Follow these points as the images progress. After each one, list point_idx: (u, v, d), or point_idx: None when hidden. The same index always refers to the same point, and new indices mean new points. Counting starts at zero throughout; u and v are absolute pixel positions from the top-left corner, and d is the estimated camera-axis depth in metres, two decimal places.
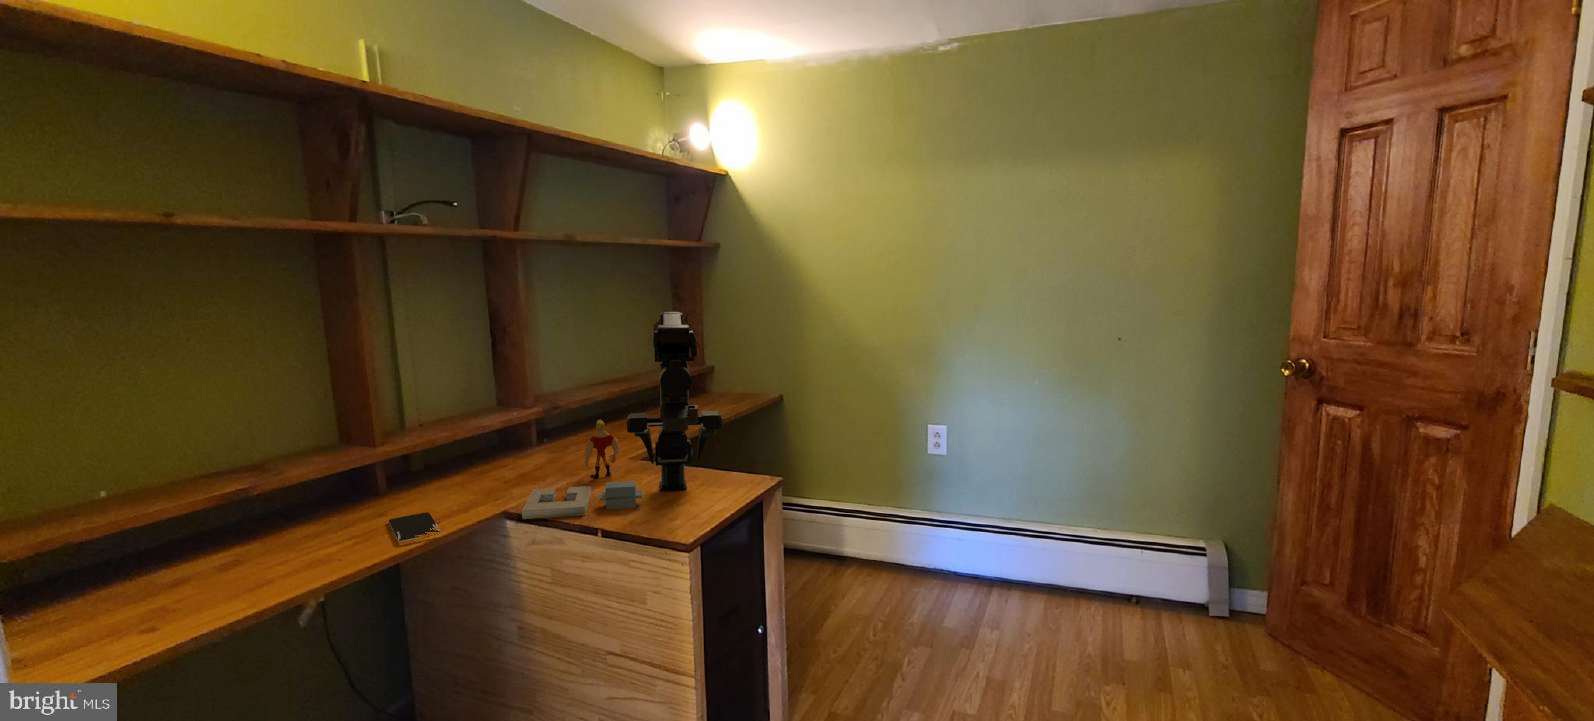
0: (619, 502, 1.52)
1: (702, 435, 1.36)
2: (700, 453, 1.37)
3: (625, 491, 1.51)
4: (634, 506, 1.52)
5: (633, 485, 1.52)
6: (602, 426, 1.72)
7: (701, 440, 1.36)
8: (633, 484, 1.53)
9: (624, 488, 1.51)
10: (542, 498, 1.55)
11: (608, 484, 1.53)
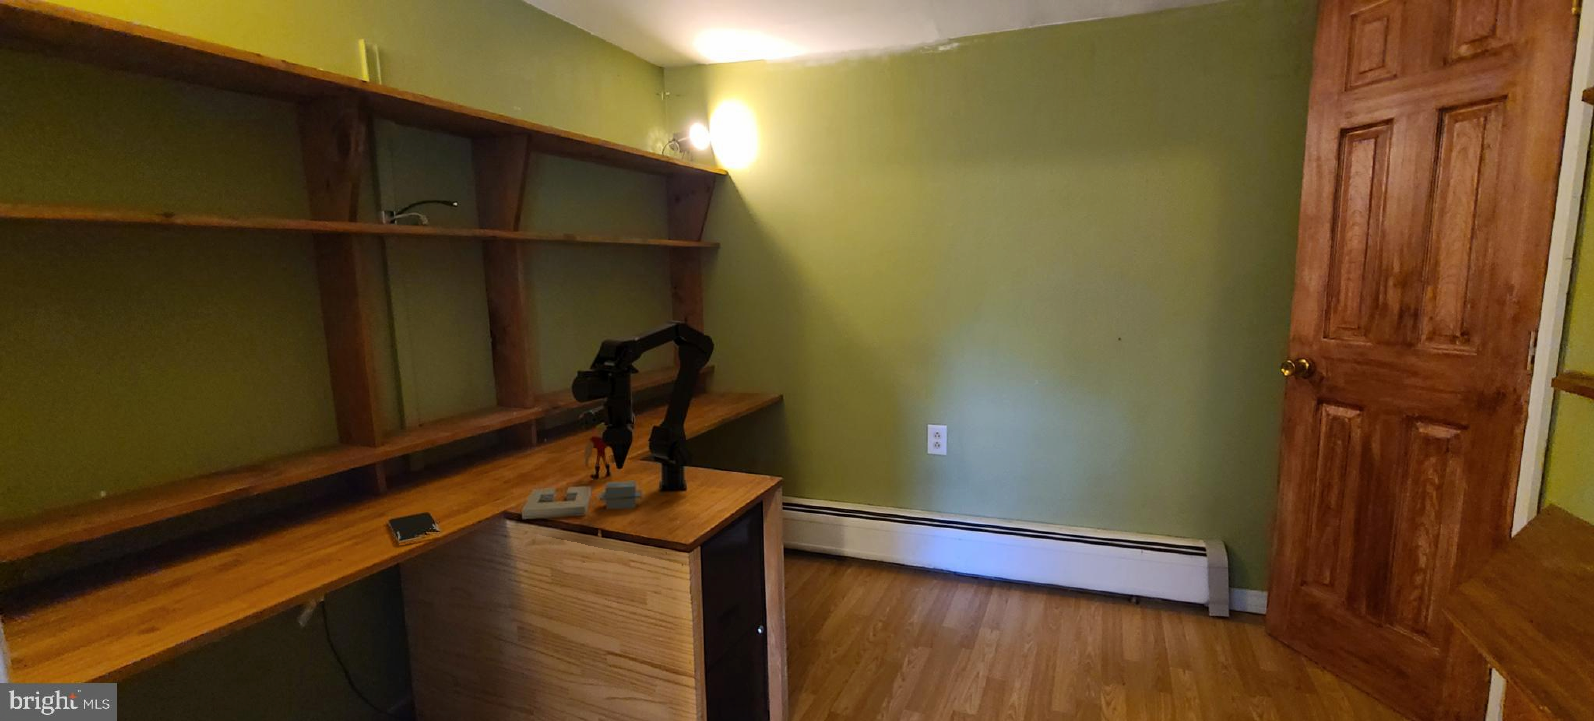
0: (619, 502, 1.52)
1: None
2: (615, 461, 1.47)
3: (625, 491, 1.51)
4: (634, 506, 1.52)
5: (633, 485, 1.52)
6: (602, 426, 1.72)
7: None
8: (633, 484, 1.53)
9: (624, 488, 1.51)
10: (542, 498, 1.55)
11: (608, 484, 1.53)
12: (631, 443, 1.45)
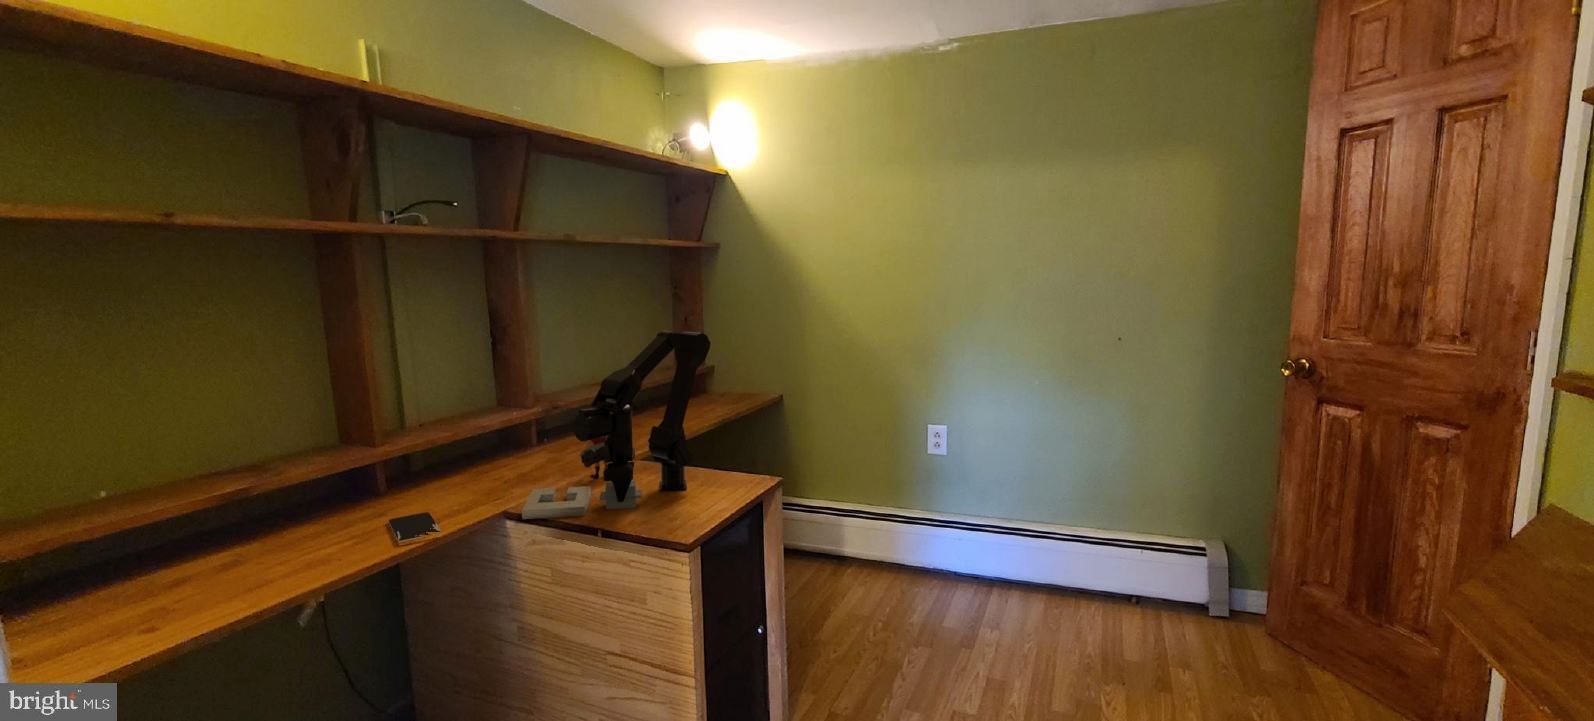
0: None
1: None
2: (616, 494, 1.51)
3: None
4: (634, 506, 1.52)
5: (633, 485, 1.52)
6: None
7: None
8: (633, 484, 1.53)
9: None
10: (542, 498, 1.55)
11: (608, 484, 1.53)
12: None
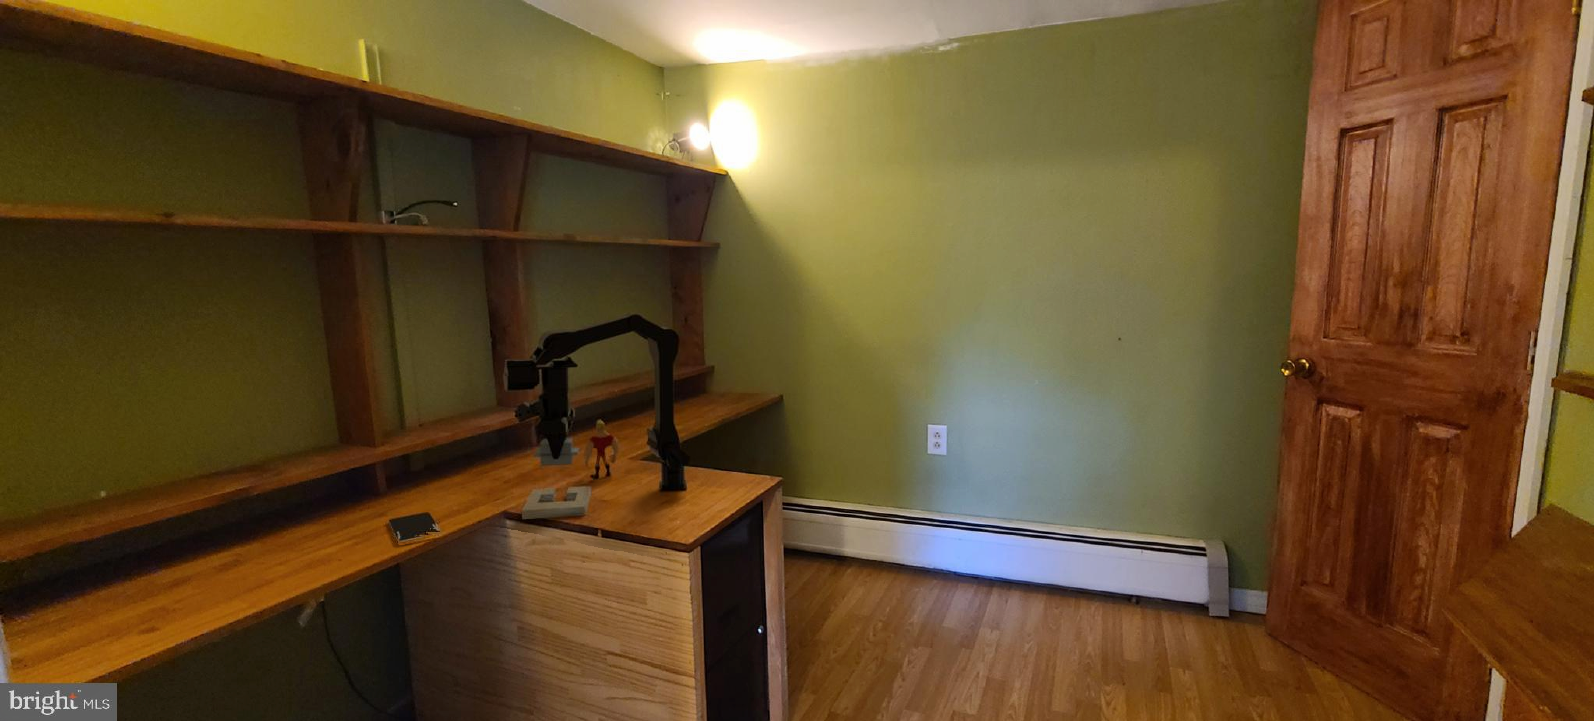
0: None
1: None
2: (551, 451, 1.48)
3: None
4: (570, 463, 1.50)
5: (569, 442, 1.50)
6: (602, 426, 1.72)
7: None
8: (569, 441, 1.51)
9: None
10: (542, 498, 1.55)
11: (544, 441, 1.50)
12: (567, 433, 1.46)
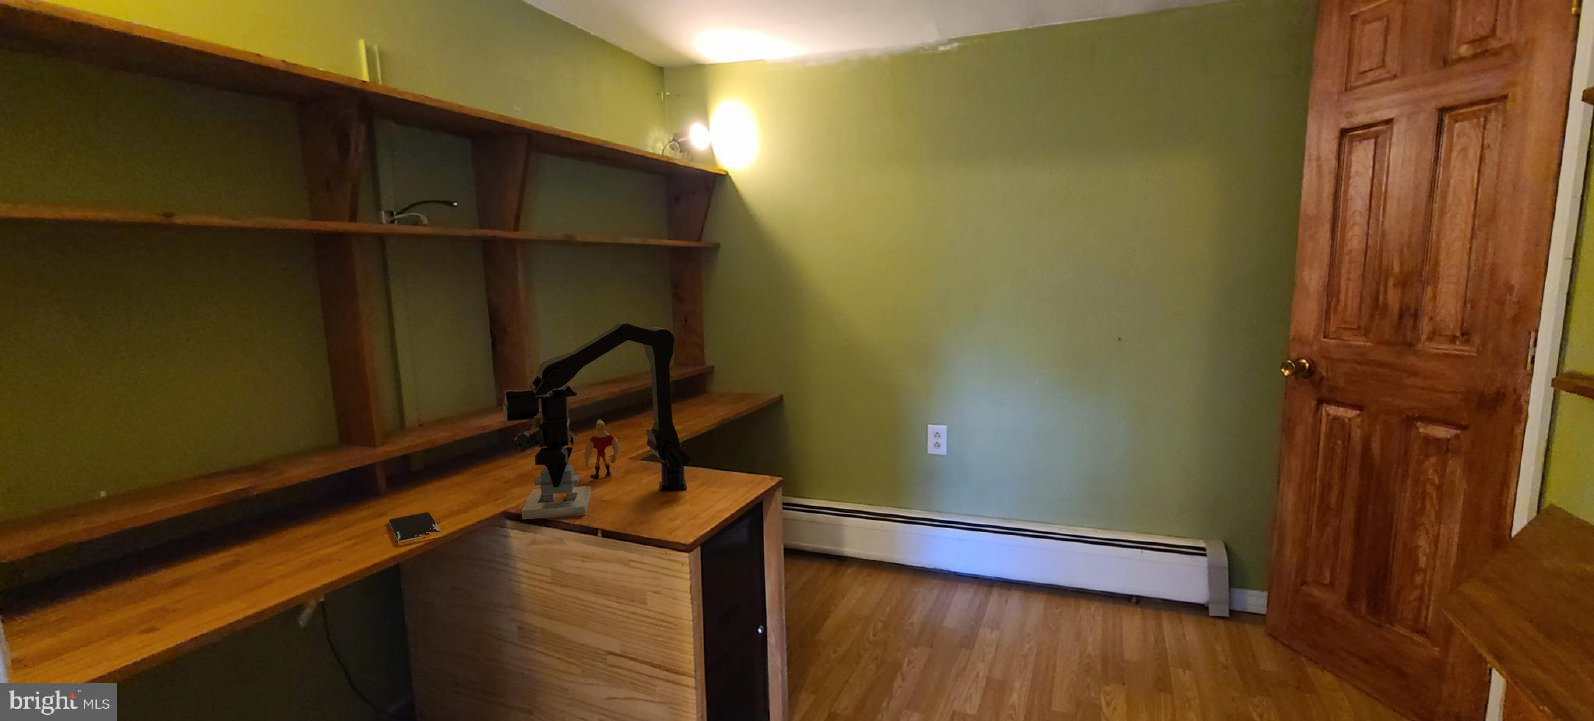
0: None
1: None
2: (551, 479, 1.49)
3: None
4: (570, 491, 1.51)
5: (569, 470, 1.51)
6: (602, 426, 1.72)
7: None
8: (569, 469, 1.52)
9: None
10: (542, 498, 1.55)
11: (544, 469, 1.51)
12: (566, 462, 1.47)
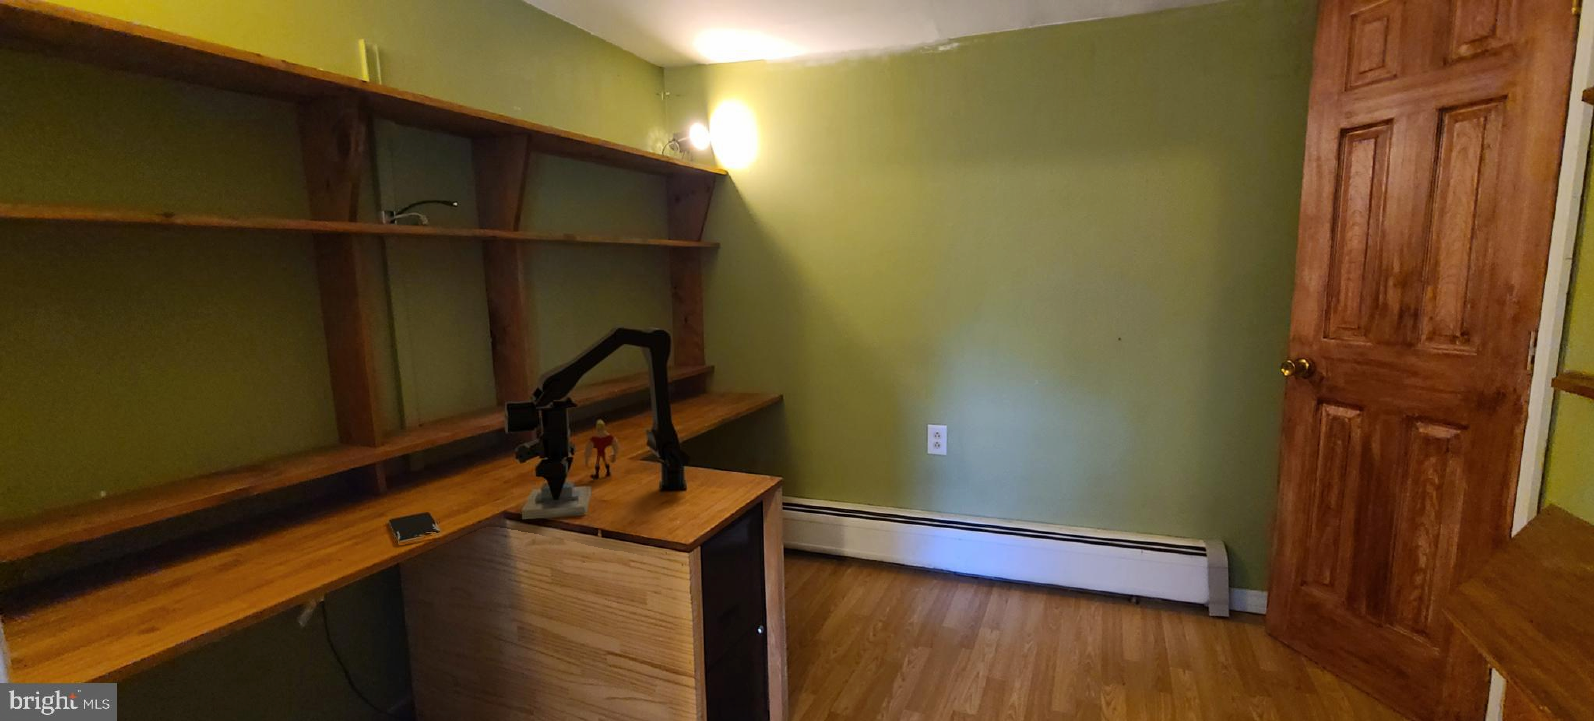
0: None
1: None
2: (551, 492, 1.48)
3: (561, 492, 1.51)
4: None
5: (570, 486, 1.51)
6: (602, 426, 1.72)
7: None
8: (570, 485, 1.52)
9: None
10: None
11: (545, 485, 1.52)
12: (566, 475, 1.47)
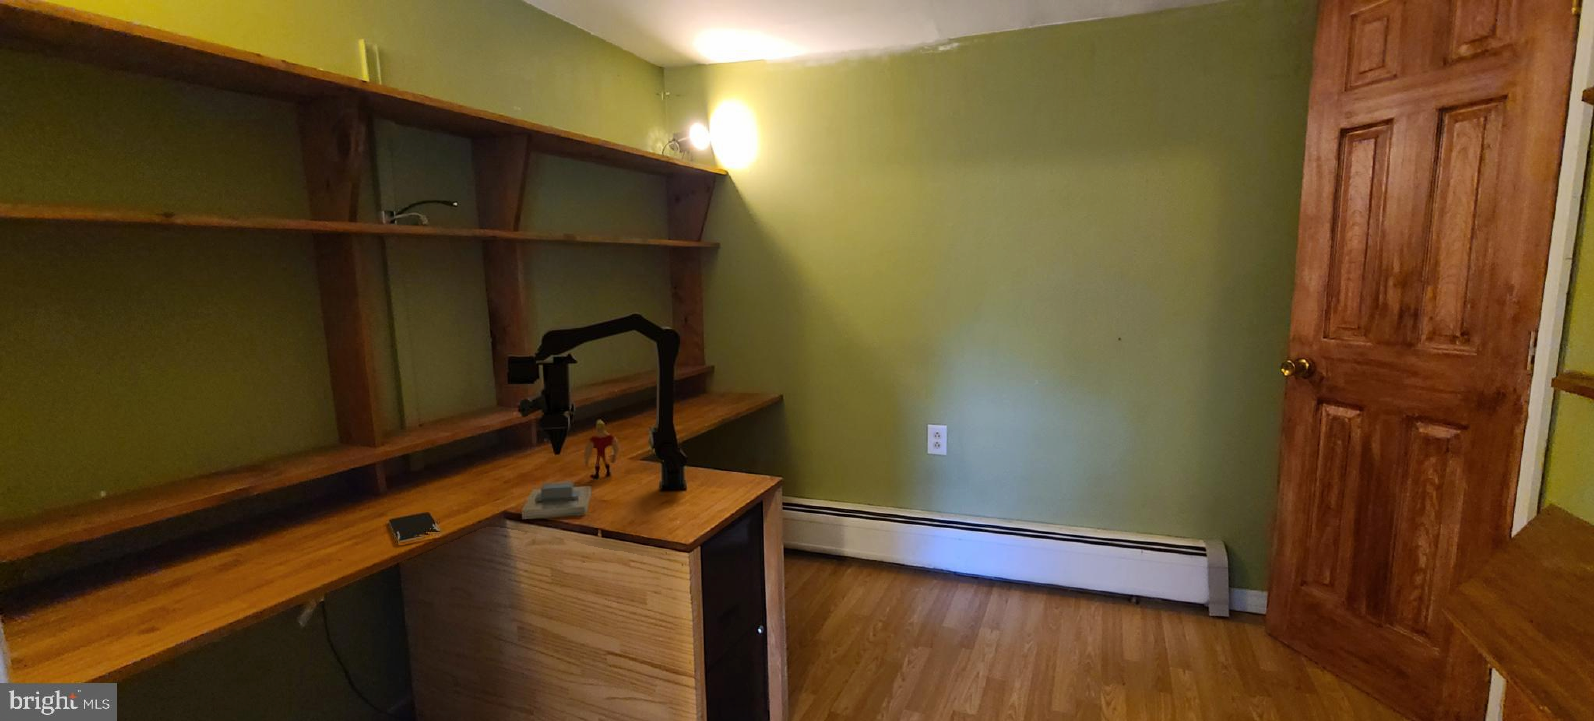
0: None
1: None
2: None
3: (561, 492, 1.51)
4: None
5: (570, 486, 1.51)
6: (602, 426, 1.72)
7: None
8: (570, 485, 1.52)
9: (560, 489, 1.50)
10: None
11: (545, 485, 1.52)
12: (568, 429, 1.49)
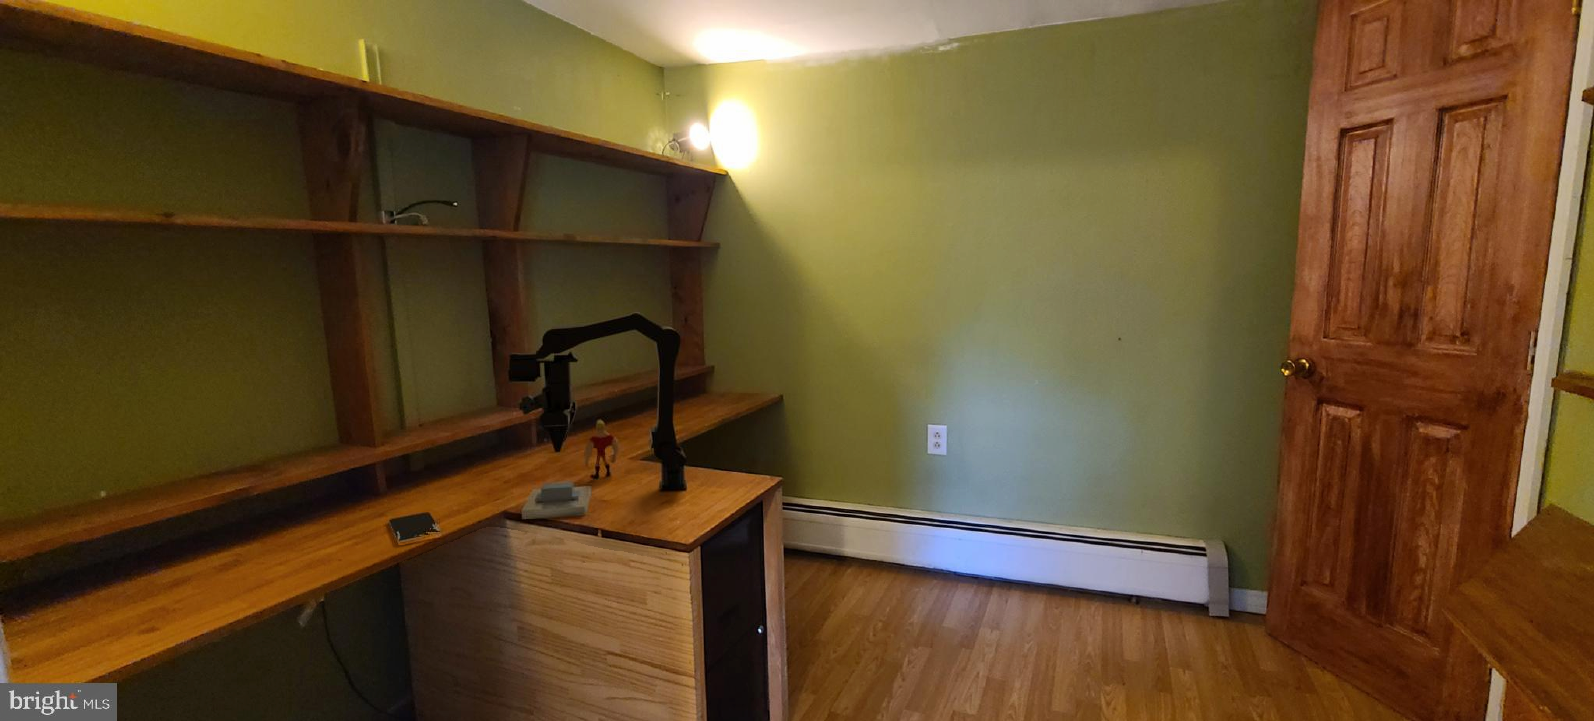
0: None
1: None
2: None
3: (561, 492, 1.51)
4: None
5: (570, 486, 1.51)
6: (602, 426, 1.72)
7: None
8: (570, 485, 1.52)
9: (560, 489, 1.50)
10: None
11: (545, 485, 1.52)
12: (568, 427, 1.51)
